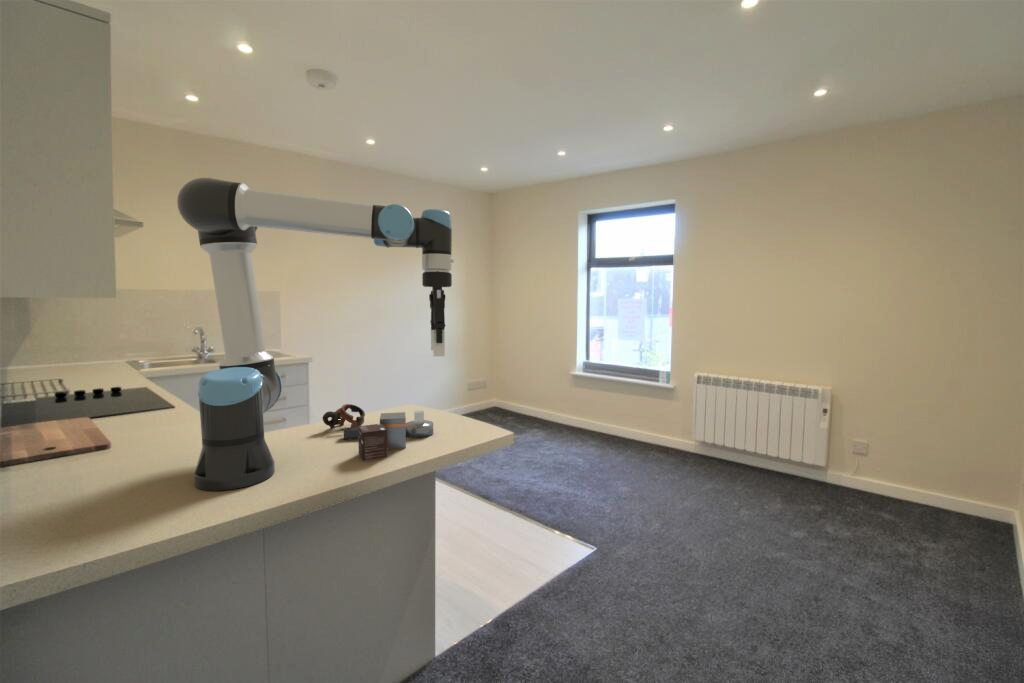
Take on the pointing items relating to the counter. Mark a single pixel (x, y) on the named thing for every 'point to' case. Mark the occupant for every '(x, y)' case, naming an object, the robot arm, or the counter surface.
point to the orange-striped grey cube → (394, 429)
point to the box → (372, 442)
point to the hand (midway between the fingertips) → (437, 353)
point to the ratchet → (413, 428)
